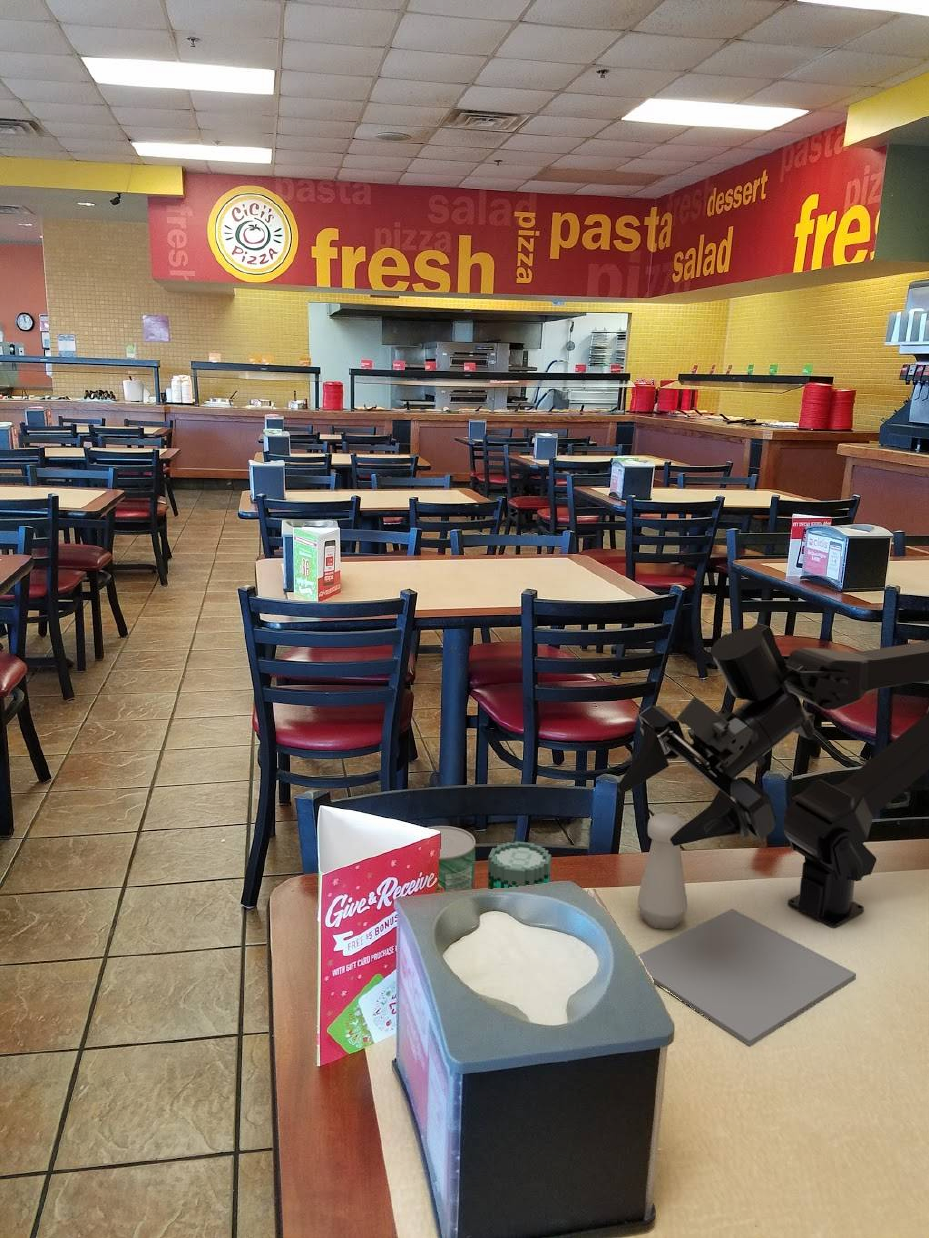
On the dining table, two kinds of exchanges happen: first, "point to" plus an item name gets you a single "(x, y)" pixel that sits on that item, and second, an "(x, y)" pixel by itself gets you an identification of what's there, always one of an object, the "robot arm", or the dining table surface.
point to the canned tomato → (456, 859)
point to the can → (518, 865)
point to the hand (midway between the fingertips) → (644, 815)
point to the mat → (743, 974)
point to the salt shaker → (663, 875)
